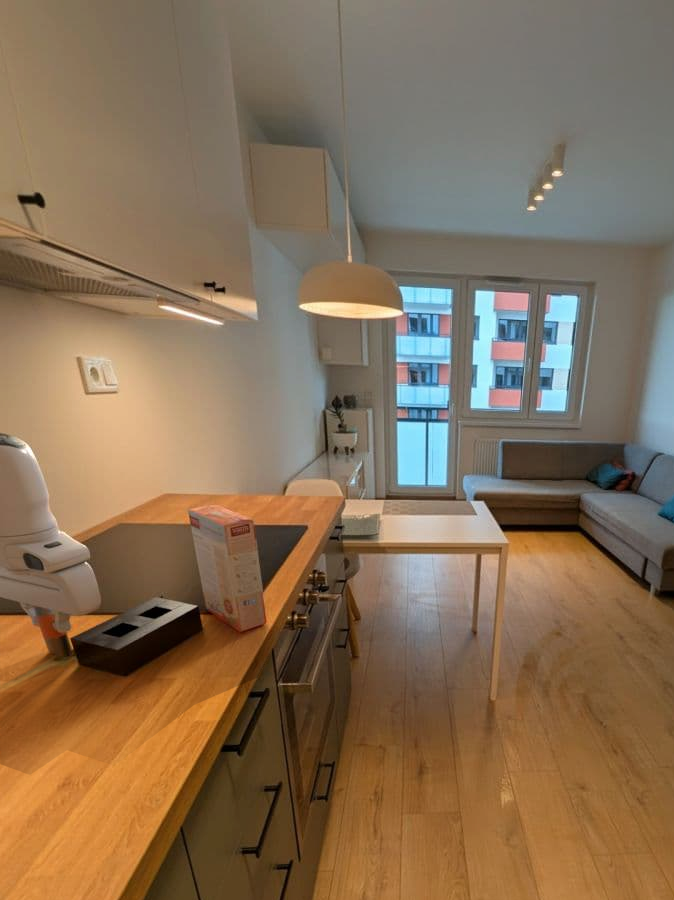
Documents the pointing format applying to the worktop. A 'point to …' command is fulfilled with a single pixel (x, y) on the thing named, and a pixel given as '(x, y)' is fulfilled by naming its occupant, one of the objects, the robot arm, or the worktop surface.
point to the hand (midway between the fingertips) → (53, 628)
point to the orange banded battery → (53, 634)
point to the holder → (137, 636)
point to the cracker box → (228, 566)
